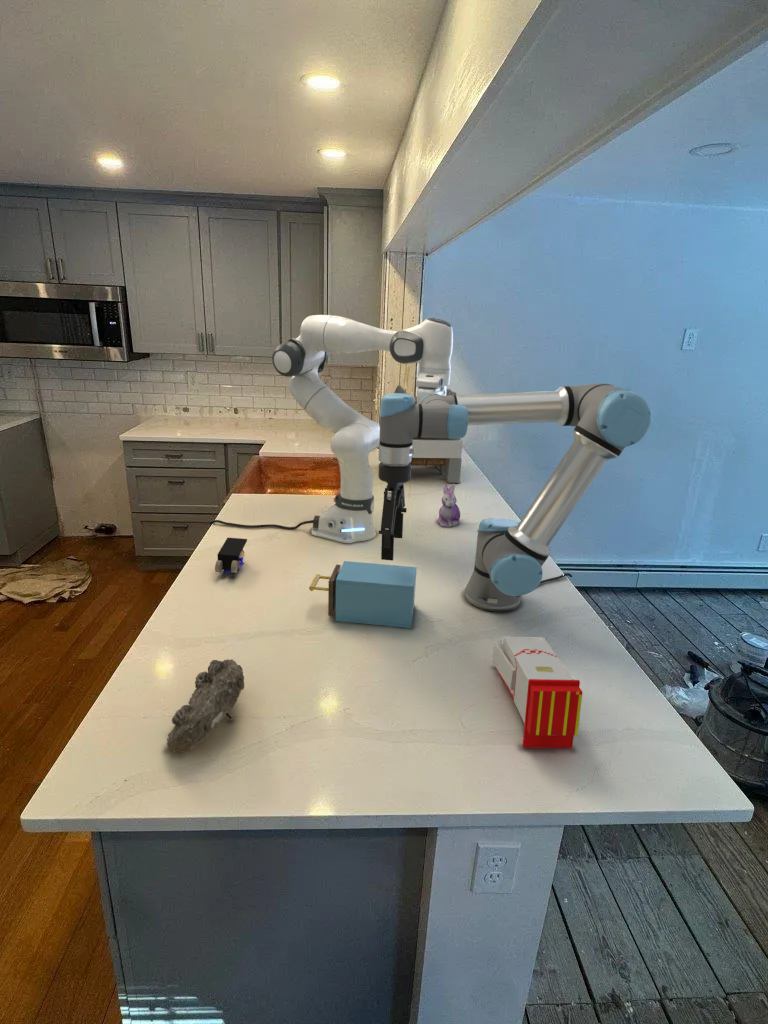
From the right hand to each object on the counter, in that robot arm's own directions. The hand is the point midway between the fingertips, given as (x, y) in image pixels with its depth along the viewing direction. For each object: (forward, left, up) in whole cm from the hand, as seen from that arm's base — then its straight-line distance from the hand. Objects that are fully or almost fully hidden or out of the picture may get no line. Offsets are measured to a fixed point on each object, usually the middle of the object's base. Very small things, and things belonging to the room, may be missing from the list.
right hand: (392, 548), depth 137 cm
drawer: (+7, -7, -19) cm, 22 cm away
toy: (-18, +37, -20) cm, 45 cm away
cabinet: (+2, -5, -20) cm, 21 cm away
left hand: (-23, -35, +22) cm, 47 cm away
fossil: (+44, +25, -20) cm, 54 cm away
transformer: (-59, -127, -20) cm, 142 cm away
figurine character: (+35, -39, -20) cm, 57 cm away
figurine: (-45, -61, -20) cm, 79 cm away
